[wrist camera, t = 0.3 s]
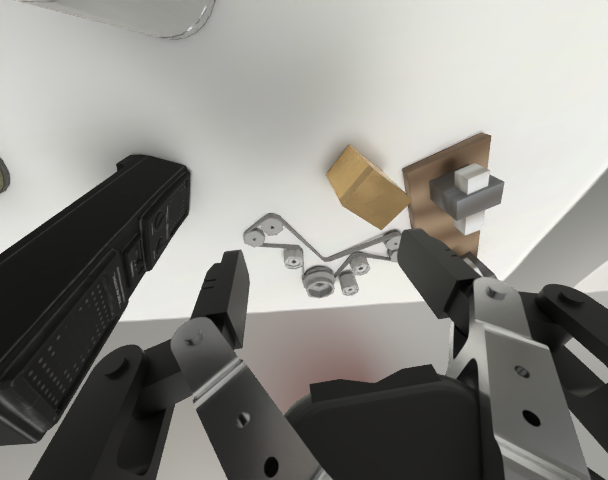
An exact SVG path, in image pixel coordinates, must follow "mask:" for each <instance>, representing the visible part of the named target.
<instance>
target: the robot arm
mask: <svg viewBox="0 0 608 480" xmlns="http://www.w3.org/2000/svg"><path fill="white" fill-rule="evenodd" d="M15 1H20V2H24V3H28V4H31V5H35V6H39V7H43V8H47V9H51V10H55V11H59V12H63V13H67V14H70V15H74V16H78V17H82V18H86V19H90V20H94V21H98V22H102V23H105V24H109V25H113V26H117V27H121V28H125V29H129V30H133V31H137V32H140V33H144V34H148V35H152V36H156V37H160V38H167V39H180V38H186V37H188V36H190V35H192V34H194V33H196V32H197V31H198V30H199V29H200V28H201V27H202V26H203V25H204V24H205V22H206V21H207V19H208V17H209V16H210V14H211V11H212V8H213V5H214V2H215V0H15ZM397 261H398V264H399V266H400V267H401V269H402V270H403V271H404V273H405V274H406V275H407V277H408V278H409V280H410V281H411V282H412V284H413V285H414V286H415V288H416V289H417V291H418V292H419V293H420V295H421V296H422V297H423V299H424V300H425V302H426V303H427V304H428V306H429V307H430V308H431V310H432V311H433V312H434V314H435V315H436V317H437V318H438V319H443V318H449V317H450V318H451V320H452V323H451V326H450V344H449V362H448V368H447V371H446V374H445V376H444V375H440V374H437V373H436V371H435V369H434V368H433V366H432V364H429V365H423V366H417V367H411V368H405V369H401V370H399V371H397V372H396V373H394V374H392V375H390V376H388V377H386V378H384V379H382V380H380V381H379V382H377V383H368V382H359V381H351V380H343V379H338V380H332V381H326V382H321V383H314V384H310V394H308V395H306V396H304V397H303V398H301V399H300V400H299V401H297V402H296V403H295V404H294V405H293V406H292V407H290V409H289V410H288V411H287V412H286V413H285V415H283V414H282V412H281V411H280V410H279V408H278V407H277V406H276V404H275V403H274V401H273V400H272V399H271V397H270V396H269V395H268V393H267V392H266V391H265V389H264V388H263V387H262V385H261V384H260V382H259V381H258V380H257V378H256V377H255V376H254V374H253V373H252V372H251V370H250V369H249V368H248V367H247V365H246V364H245V362H244V361H243V360H240V359H239V357H238V356H237V355H236V353H235V352H234V349H239V348H242V347H243V337H244V329H245V320H246V312H247V303H248V294H249V285H250V281H249V273H248V270H247V266H246V263H245V259H244V256H243V253H242V250H234V251H226V252H224V254H223V258H222V261H221V263H215V264H214V265H213V266H212V267H211V268H210V269H209V270H208V271H207V273H206V276H205V279H204V282H203V285H202V287H201V290H200V293H199V296H198V299H197V301H196V304H195V307H194V310H193V313H192V316H191V318H190V320H189V321H187V322H185V323H184V324H183V325H181V326H180V327H179V328H178V329H177V330H176V332H175V333H174V335H173V337H172V338H171V339H170V340H168V341H166V342H163V343H161V344H158V345H156V346H154V347H151V348H149V349H147V350H144V351H143V350H142V349H141V348H140V347H139V346H137V345H126V346H123V347H120V348H118V349H116V350H114V351H112V352H110V353H109V354H108V355H106V356H105V357H104V358H103V359H102V360H101V361H100V362H99V363H98V364H97V365H96V366H95V367H94V369H93V371H92V372H91V373H90V375H89V377H88V379H87V380H86V382H85V384H84V385H83V387H82V389H81V391H80V392H79V394H78V396H77V397H76V399H75V401H74V403H73V404H72V406H71V408H70V409H69V411H68V413H67V414H66V416H65V418H64V420H63V421H62V423H61V425H60V427H59V428H58V430H57V432H56V433H55V435H54V437H53V438H52V440H51V442H50V444H49V445H48V447H47V449H46V450H45V452H44V454H43V456H42V457H41V459H40V461H39V462H38V464H37V466H36V468H35V470H34V471H33V473H32V474H31V476H30V478H29V479H28V480H156V477H157V473H158V469H159V465H160V461H161V457H162V453H163V449H164V445H165V442H166V438H167V433H168V430H169V426H170V421H171V418H172V414H173V410H174V407H175V404H176V403H178V402H180V401H182V400H184V399H186V398H188V397H190V396H191V395H193V396H194V400H193V403H194V406H195V409H196V411H197V413H198V416H199V418H200V420H201V422H202V424H203V426H204V429H205V431H206V433H207V435H208V437H209V440H210V442H211V444H212V446H213V448H214V450H215V453H216V455H217V457H218V459H219V461H220V463H221V466H222V468H223V470H224V472H225V474H226V477H227V479H228V480H605V479H604V478H602V477H601V476H599V475H598V474H597V473H595V472H594V471H592V470H591V469H589V468H588V467H587V466H586V463H585V459H584V456H583V453H582V450H581V447H580V443H579V440H578V437H577V434H576V431H575V428H574V424H573V421H572V418H571V416H570V412H569V410H571V412H572V413H573V414H574V415H575V416H576V418H577V419H579V421H580V422H581V423H582V424H583V426H584V427H585V428H586V429H587V430H588V431H589V432H590V434H591V435H592V436H593V437H594V438H595V439H596V440H597V441H598V443H599V444H600V445H601V446H602V447H603V448H604V450H605V451H606V452H607V453H608V383H607V384H605V383H604V382H603V381H602V380H600V379H599V378H598V377H597V376H596V375H595V374H594V373H593V372H592V371H591V370H590V369H589V368H588V367H587V366H586V365H585V364H583V363H582V362H581V361H580V360H579V359H578V358H577V357H576V356H575V355H574V354H572V352H570V351H569V350H568V349H567V348H566V347H565V346H564V344H566V343H567V342H568V341H569V340H570V339H571V338H573V337H574V338H575V339H576V340H577V341H578V342H580V343H581V344H582V345H583V346H584V347H585V348H587V349H588V350H589V351H590V352H591V353H592V354H593V355H595V356H596V357H597V358H598V359H599V360H600V361H601V362H603V363H604V364H605V365H606V366H607V368H608V309H607V308H605V307H604V306H602V305H601V304H599V303H598V302H596V301H595V300H594V299H592V298H591V297H589V296H588V295H586V294H584V293H582V292H580V291H578V290H576V289H573V288H571V287H567V286H564V285H558V284H549V285H546V286H545V287H543V289H542V290H541V291H540V292H539V293H538V294H537V293H527V292H518V291H516V290H515V289H514V288H513V287H512V286H510V285H509V284H507V283H505V282H503V281H500V280H498V279H494V278H489V277H482V276H481V275H479V274H478V273H477V272H476V271H475V270H474V269H473V268H472V267H470V266H469V265H468V264H467V263H466V262H465V261H464V260H463V259H461V258H460V257H459V256H457V254H456V253H455V252H454V251H452V250H451V249H450V248H449V247H448V246H447V245H446V244H445V243H443V242H442V241H440V240H438V239H436V238H434V237H430V236H429V235H428V234H427V233H426V232H425V231H424V230H423V229H421V228H416V229H408V230H404V231H403V232H402V235H401V240H400V244H399V248H398V253H397Z"/></svg>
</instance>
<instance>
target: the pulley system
mask: <svg viewBox="0 0 608 480" xmlns="http://www.w3.org/2000/svg"><path fill="white" fill-rule="evenodd" d="M261 223H262V227H261V228H262V229H263V230H264V232H265V233H266V234H267V235H268V236H271V235H277V234H278V233H280V232H281V231H282V230H283V225H284V226H285V227H286V228H287V229H288V230H289V231H291V232H292V233H293V234H294V235H295V236H296V237H297V238H298V239H300V240H301V241H302V242H303V243H304V244H305V245H306V246H307V247H309V248H310V249H311V250H312V251H313V252H314V253H315V254H316V255H317V256H319V257H320V258H321V259H322V260H323V261H324V262H328V261H332V260H335V259H338V258H340V257H343V256H346V255H348V254H351V253H354V252H356V251H359V250H362V249H364V248H367V247H370V246H372V245H375V244H378V243H380V242H383V241H384V244H385V245H386V248H388V249H389V250H390V251H389V252H388V254H389V257H384V256H378V255H372V254H366V253H360V252H357V253H354V254H352V255H351V256H350V257H349V258H348V259H347V260H346V261H345V263H344V264H343V265H342V266H341V267H340V268H339V269H338V271H337V272H336V273H335V274H333V272H332V270H330V269H328V268H327V267H322V266H315V267H313V268H311V269H310V270H308V271H307V272H306V274H305V276H304V262H303V261H304V260H303V249H302V248H301V247H300V246H299V245H287V244H268V243H264V240H265V236H264V234H263V231H262V230H260V229H258V228H256V227H257V226H259V225H260V224H261ZM401 235H402V234H401V233H399V232H393V233H390V234H387V235H385V236H382V237H380V238H377V239H374V240H372V241H369V242H367V243H364V244H361V245H359V246H356V247H354V248H351V249H349V250H346V251H343V252H341V253H338V254H336V255H333V256H330V257H328V258H326V257H322V256H321V255H320V254H319V253H318V252H317V251H316V250H315V249H314V248H313V247H312V246H311V245H309V244H308V243H307V242H306V241H305V240H304V239H303V238H302V237H301V236H300V235H299V234H298V233H297V232H296V231H295V230H294V229H293V228H292V227H291V226H289V225H288V224H287V223H286V222H285V221H284V220H283V219H282V218H281V216H279V215H276V214H271V213H269V214H268V215H266V216H264V217H263V218H262V219H260V220H259V221H258V222H257V223H255V224H254V225H253V226H251V227H250V228H249V229H248V230H246V232H245V233H244V242H245V244H248V245H250V246H252V247H274V248H286V249H285V252H284V253H285V257H284V263H285V267H287V268H289V269H298V268H300V267H301V266H302V264H303V284H304V288H306V291H307V293H308V296H309V297H315V298H323V297H327V296H329V295H331V294H332V293H333V292H334V289H335V288H334V285H333V284H334V282H335V280H336V279H335V278H336V277H337V275H338V274H339V273H340V272H341V271H342V270H343V269H344V268H345V267H346V266H347V265H348V263H350V266H351V268H352V271H353V273H354V274H355V275H363V274H366V273H367V272H368V271H369V270H370V266H369V264H368V262H367V259H366V257H367V258H374V259H381V260H388V261H391V262H398V261H397V253H398V248H399V244H400V240H401ZM339 280H340V284H341V289H342V293H343V295H347V296H353V295H354V294H356V293H357V292H358V290H359V288H358V285H357V282H356V279H355V276H354V275H353V274H352V273H351V274H344V275H342V276H341V277H340V278H339Z"/></svg>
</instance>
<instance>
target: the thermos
mask: <svg viewBox="0 0 608 480" xmlns="http://www.w3.org/2000/svg"><path fill="white" fill-rule="evenodd" d="M9 184H10V176H9V172H8V170H7V168H6V166H5V164H4V162H3V161H2V159H1V158H0V193H2V192H4V191H6V189H7V188H8V186H9Z"/></svg>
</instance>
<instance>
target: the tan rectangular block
mask: <svg viewBox="0 0 608 480" xmlns="http://www.w3.org/2000/svg"><path fill="white" fill-rule="evenodd" d="M326 175H327V177H328V179H329V181H330V183H331V185H332V187H333V189H334V191H335V193H336V195H337V197H338V199H339V200H340V202H341V204H342V206H343V207H345V208H347V209H348V210H350V211H351V212H353V213H355V214H356V215H358V216H359V217H361V218H363V219H364V220H366V221H367V222H369V223H371V224H372V225H374V226H375V227H377V228H379V229H380V230H382V229H383V228H384V227H385V226H386V225H387V224H389V223H390V222H391V221H392V220H393V219H394V218H395V217H396V216H397V215H398V214H399V213H400V212H401V211H402V210H403V209H404V208H405V207H406V206H407V205H409V204H410V203H411V202H412V201H413V200H412V199H411V198H410V197H409V196H408V195H407V194H406V193H405V192H404V191H402V190H401V189H400V188H399V187H398V186H397V185H396V184H395V183H394V182H393V181H392V180H391V179H390V178H389V177H388V176H387V175H385V174H384V173H383V172H382V171H381V170H380V169H379V168H377V167H376V166H375V165H374V164H373V163H371V162H370V161H369V160H368V159H366V158H365V157H364V156H363V155H361V154H360V153H359V152H358V151H357V150H355V149H354V148H353V147H352V146H350V145H348V146H347V148H346V149H345V150H344V152H343V153H342V154H341V156H340V157H339V158H338V160H337V161H336V162H335V164H334V165H333V166H332V167H331V169H330V170H329V171H328V173H327V174H326Z"/></svg>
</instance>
